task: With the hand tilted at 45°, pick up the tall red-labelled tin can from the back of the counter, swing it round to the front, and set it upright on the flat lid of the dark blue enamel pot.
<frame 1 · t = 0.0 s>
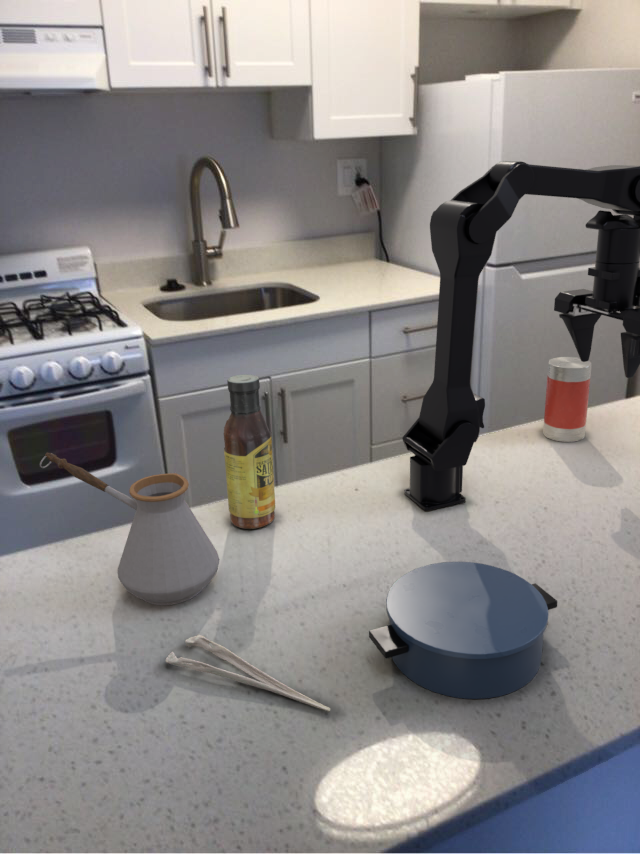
hand: (606, 369, 110), 15 cm above the worktop, tool pointing down, fingers open, 9 cm apart
sauce bottle: (253, 521, 102), on the worktop
enamel pot: (464, 647, 75), on the worktop
coffee pot: (136, 580, 89), on the worktop
tin can: (563, 434, 126), on the worktop
tweezers: (250, 683, 72), on the worktop
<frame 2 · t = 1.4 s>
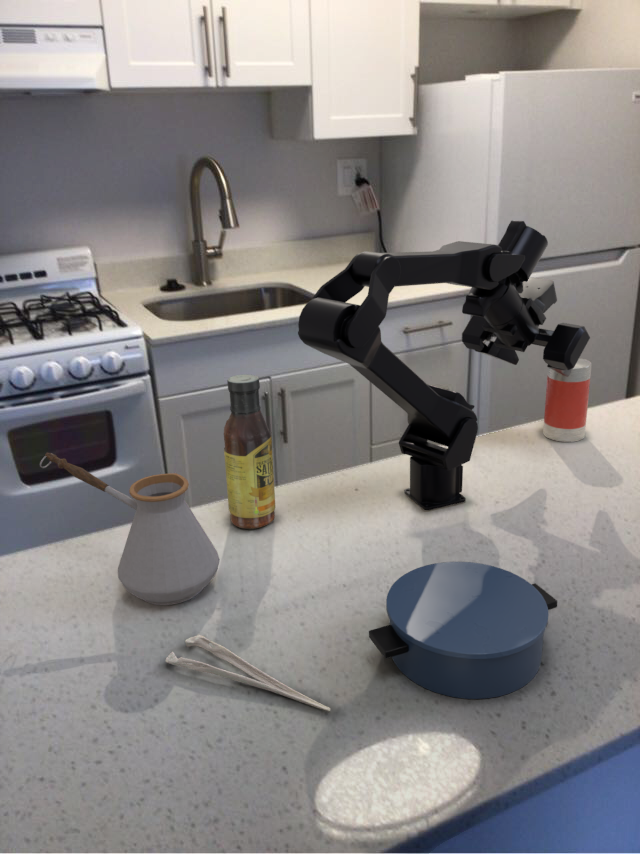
hand: (542, 368, 116), 13 cm above the worktop, tool tilted 45°, fingers open, 9 cm apart
nothing on the worktop moved.
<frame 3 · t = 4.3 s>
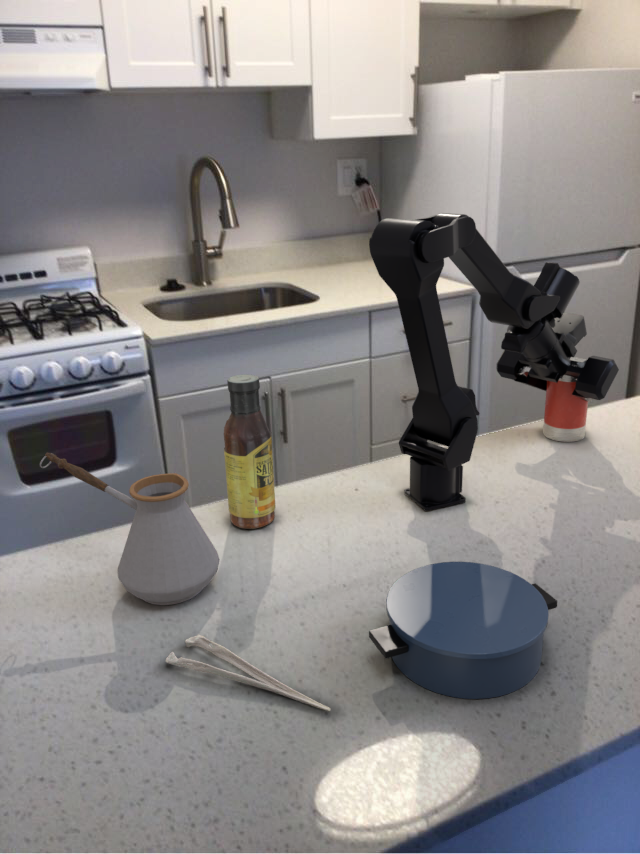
hand: (571, 395, 124), 7 cm above the worktop, tool tilted 45°, fingers closed on tin can, 7 cm apart
tin can: (563, 434, 126), on the worktop, touching gripper
everything else where it was.
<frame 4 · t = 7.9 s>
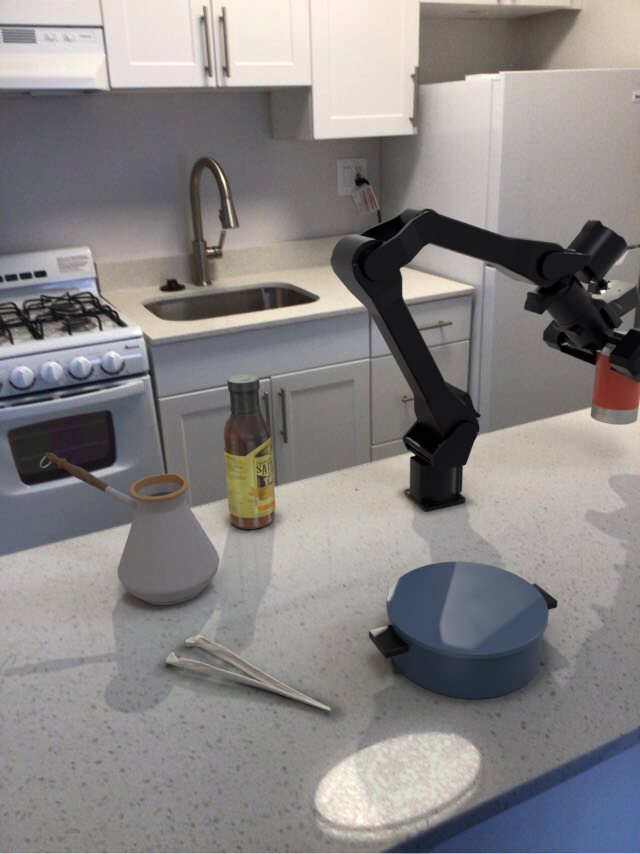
hand: (625, 374, 112), 13 cm above the worktop, tool tilted 45°, fingers closed on tin can, 7 cm apart
tin can: (613, 417, 114), point 7 cm above the worktop, touching gripper
everything else where it was.
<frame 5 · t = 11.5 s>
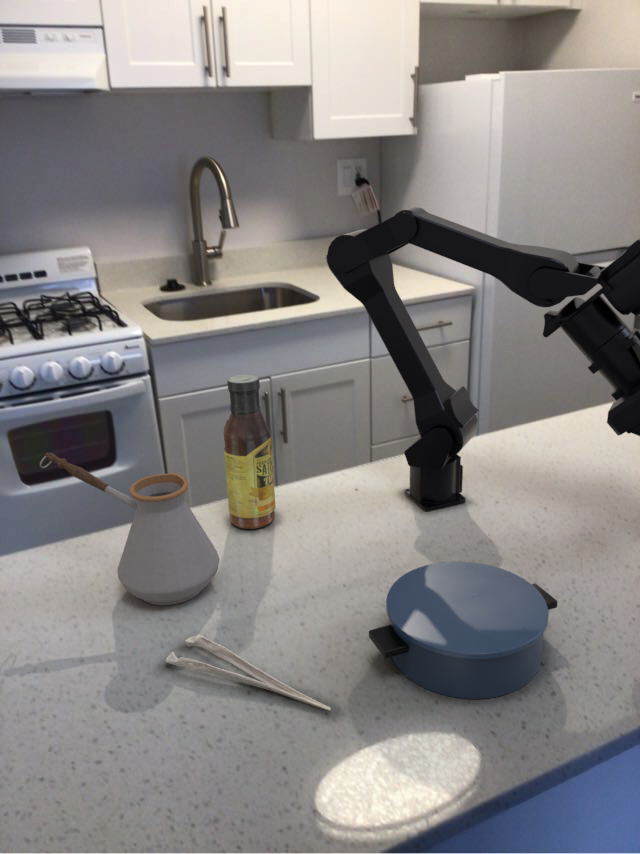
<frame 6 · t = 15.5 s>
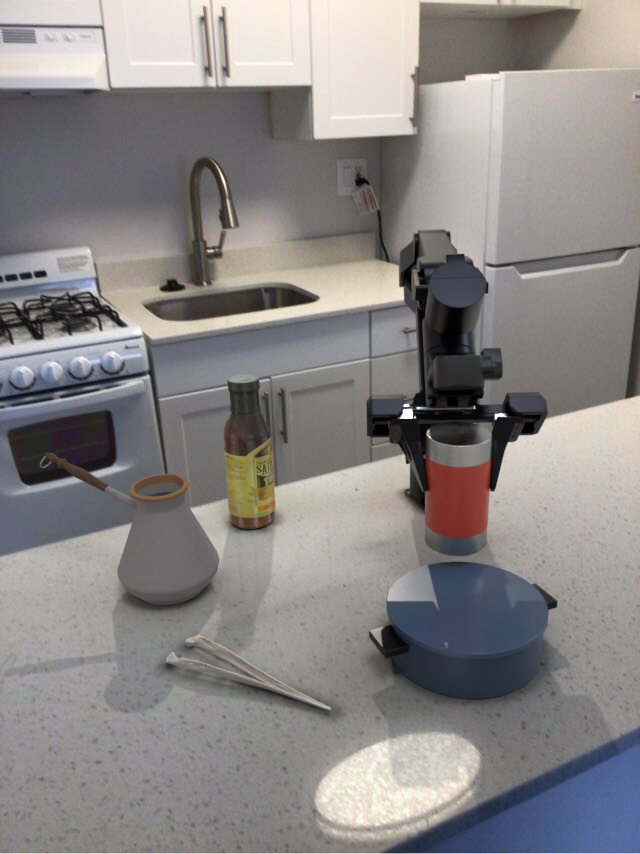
hand: (458, 490, 78), 13 cm above the worktop, tool tilted 45°, fingers closed on tin can, 7 cm apart
tin can: (455, 540, 82), point 7 cm above the worktop, touching gripper
everything else where it was.
when the fingers open (12 cm above the worktop, at t = 18.8 s): tin can stays where it is, resting on enamel pot.
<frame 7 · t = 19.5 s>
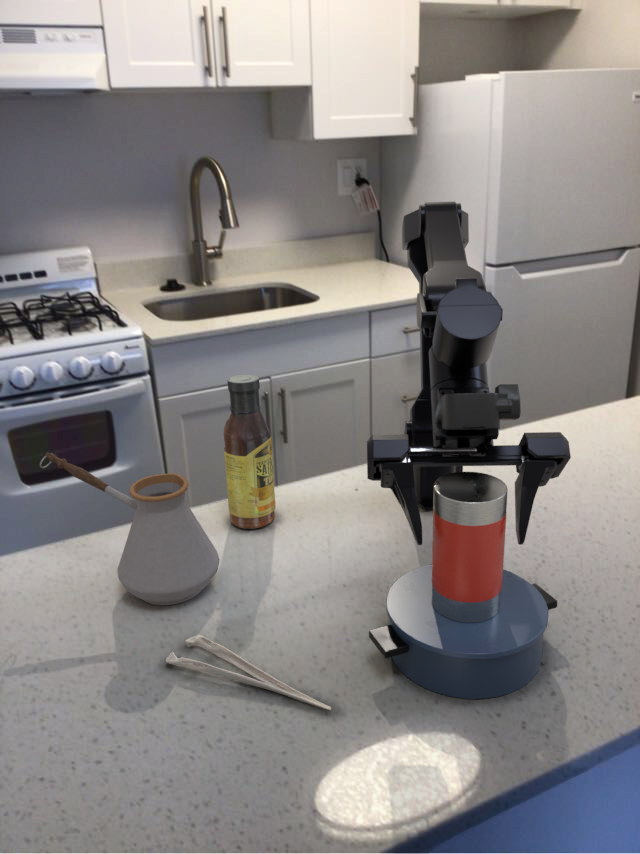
hand: (470, 543, 69), 13 cm above the worktop, tool tilted 45°, fingers open, 9 cm apart
tin can: (465, 602, 73), point 5 cm above the worktop, touching enamel pot
everything else where it was.
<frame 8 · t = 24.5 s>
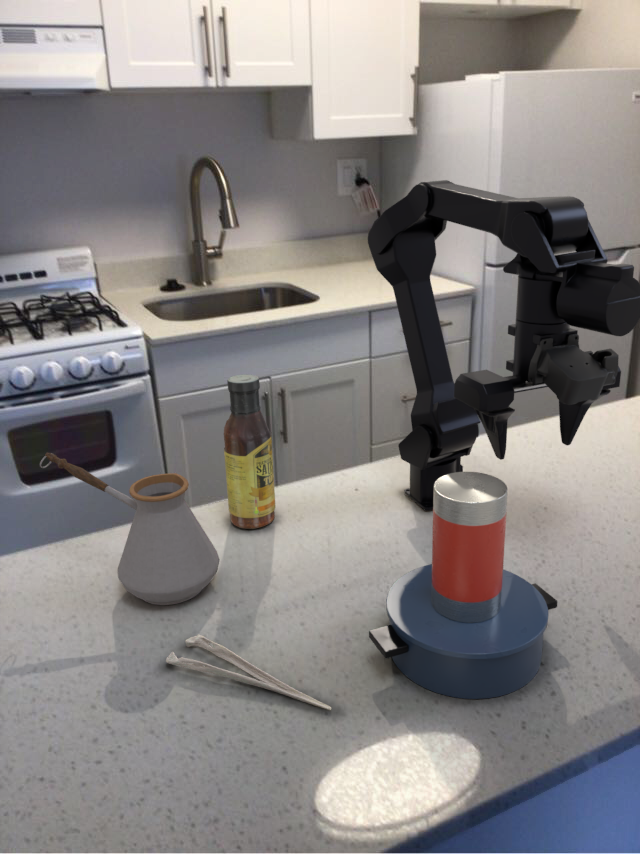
hand: (533, 451, 87), 13 cm above the worktop, tool pointing down, fingers open, 9 cm apart
nothing on the worktop moved.
at the end: tin can inside the target area on the enamel pot (0.0 cm from its centre), point 5.2 cm above the enamel pot's base; tin can tilted 0°; the gripper is holding nothing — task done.
